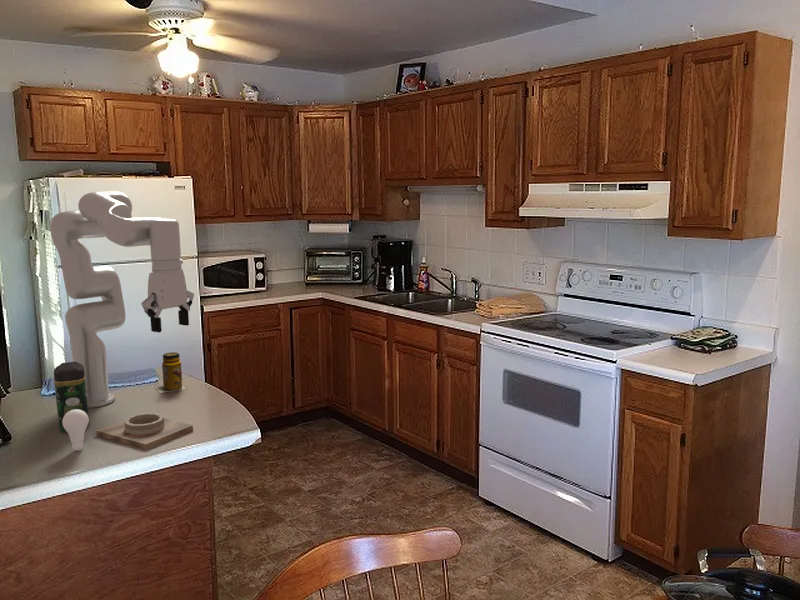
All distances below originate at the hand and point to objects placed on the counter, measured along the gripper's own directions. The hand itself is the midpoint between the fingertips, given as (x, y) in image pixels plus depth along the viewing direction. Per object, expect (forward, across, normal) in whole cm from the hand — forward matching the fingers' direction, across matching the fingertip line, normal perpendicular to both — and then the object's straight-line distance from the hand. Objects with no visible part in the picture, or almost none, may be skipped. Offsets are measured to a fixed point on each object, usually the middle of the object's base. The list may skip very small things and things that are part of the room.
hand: (170, 328), depth 182 cm
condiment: (+30, -28, -32) cm, 52 cm away
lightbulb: (+30, +22, -12) cm, 39 cm away
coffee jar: (+30, +12, -28) cm, 42 cm away
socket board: (+29, +5, -7) cm, 31 cm away
